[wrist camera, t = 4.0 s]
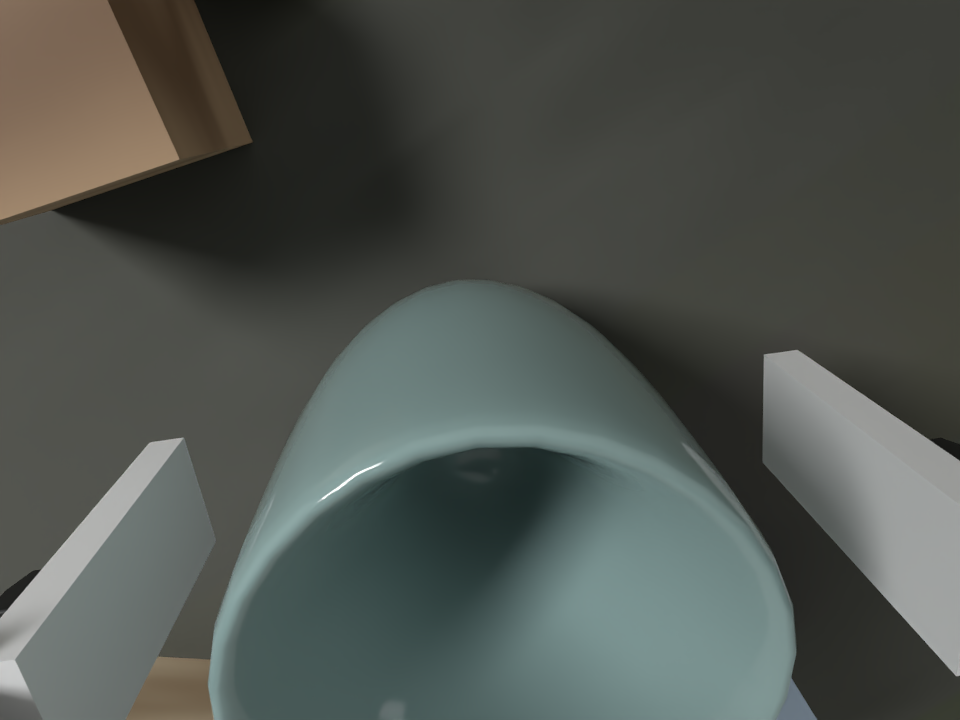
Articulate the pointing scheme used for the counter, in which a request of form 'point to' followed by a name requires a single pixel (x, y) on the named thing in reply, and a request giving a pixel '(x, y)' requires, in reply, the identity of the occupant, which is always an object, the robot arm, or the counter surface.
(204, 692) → the oak cube
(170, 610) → the robot arm
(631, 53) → the counter surface
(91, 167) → the walnut cube
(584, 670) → the cup
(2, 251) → the counter surface
